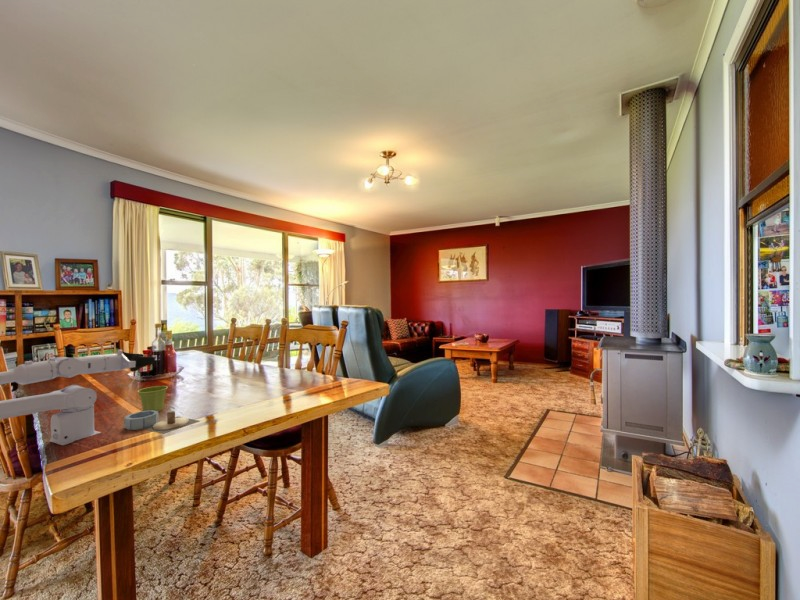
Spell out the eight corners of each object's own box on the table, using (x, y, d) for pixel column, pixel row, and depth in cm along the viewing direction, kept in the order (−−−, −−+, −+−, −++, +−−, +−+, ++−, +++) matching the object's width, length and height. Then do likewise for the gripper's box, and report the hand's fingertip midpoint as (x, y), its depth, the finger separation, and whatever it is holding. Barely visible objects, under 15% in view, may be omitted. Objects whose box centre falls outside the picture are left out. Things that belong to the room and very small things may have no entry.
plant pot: (132, 413, 129) (132, 390, 129) (159, 406, 138) (159, 384, 138) (146, 417, 125) (145, 393, 125) (173, 409, 133) (173, 387, 133)
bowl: (135, 433, 110) (135, 420, 110) (119, 429, 114) (119, 417, 114) (163, 424, 118) (163, 412, 118) (148, 420, 122) (147, 409, 122)
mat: (163, 435, 108) (163, 433, 108) (140, 430, 113) (140, 428, 113) (200, 422, 119) (200, 420, 119) (177, 418, 124) (177, 416, 124)
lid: (165, 432, 109) (164, 418, 109) (146, 427, 113) (145, 414, 113) (195, 421, 118) (195, 409, 118) (176, 417, 122) (176, 405, 122)
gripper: (113, 354, 110) (160, 350, 122) (92, 348, 117) (139, 345, 129) (111, 376, 110) (158, 370, 122) (91, 369, 117) (137, 364, 129)
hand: (148, 358), depth 125 cm, fingers open, 7 cm apart
